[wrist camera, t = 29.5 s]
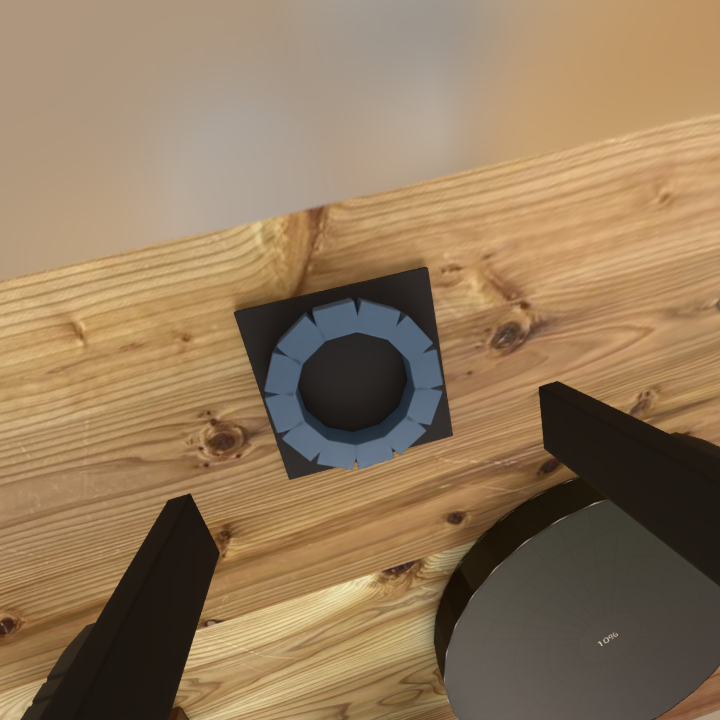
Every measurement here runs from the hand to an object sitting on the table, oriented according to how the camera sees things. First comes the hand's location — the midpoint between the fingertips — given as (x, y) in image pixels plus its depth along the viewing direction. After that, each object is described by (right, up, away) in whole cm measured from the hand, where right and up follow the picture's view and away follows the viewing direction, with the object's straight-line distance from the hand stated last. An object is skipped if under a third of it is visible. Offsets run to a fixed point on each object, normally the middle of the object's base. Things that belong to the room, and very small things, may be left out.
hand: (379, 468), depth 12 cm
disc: (+21, -19, +20) cm, 34 cm away
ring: (-1, +3, +10) cm, 10 cm away
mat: (-1, +3, +10) cm, 11 cm away
